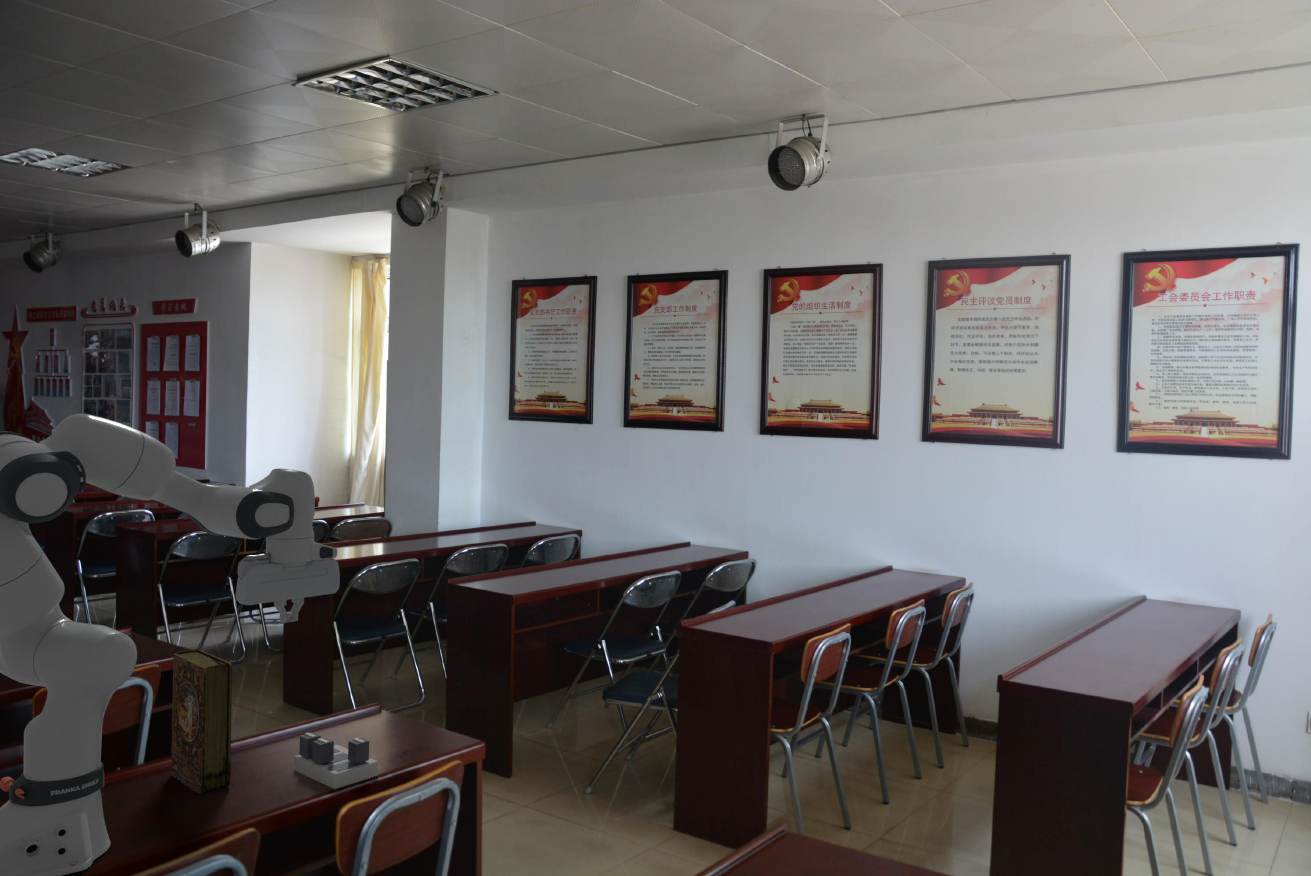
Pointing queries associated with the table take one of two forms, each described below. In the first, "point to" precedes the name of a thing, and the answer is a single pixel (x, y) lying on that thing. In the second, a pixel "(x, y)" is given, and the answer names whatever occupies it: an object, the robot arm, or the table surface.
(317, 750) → the tab middle
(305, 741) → the tab
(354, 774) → the switch panel
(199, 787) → the book
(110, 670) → the robot arm
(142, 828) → the table surface
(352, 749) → the tab
